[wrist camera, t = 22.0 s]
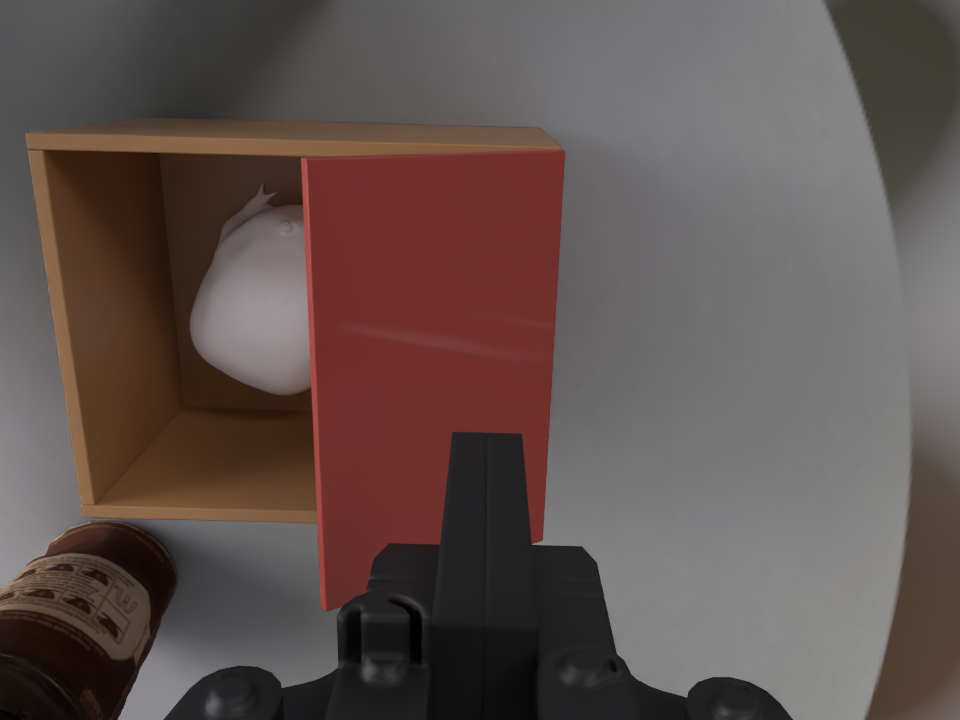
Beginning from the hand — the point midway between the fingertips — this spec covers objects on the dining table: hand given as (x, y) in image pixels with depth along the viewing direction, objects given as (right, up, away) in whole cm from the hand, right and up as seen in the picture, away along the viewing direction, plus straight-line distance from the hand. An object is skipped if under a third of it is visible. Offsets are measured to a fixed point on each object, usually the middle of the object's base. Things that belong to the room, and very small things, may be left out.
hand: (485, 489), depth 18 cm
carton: (-6, +6, +18) cm, 20 cm away
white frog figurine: (-8, +6, +18) cm, 20 cm away
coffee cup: (-18, -7, +23) cm, 30 cm away
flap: (-1, +2, +6) cm, 7 cm away
